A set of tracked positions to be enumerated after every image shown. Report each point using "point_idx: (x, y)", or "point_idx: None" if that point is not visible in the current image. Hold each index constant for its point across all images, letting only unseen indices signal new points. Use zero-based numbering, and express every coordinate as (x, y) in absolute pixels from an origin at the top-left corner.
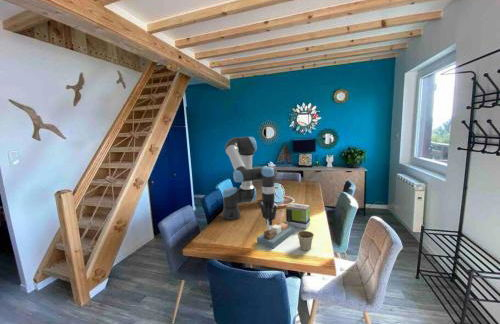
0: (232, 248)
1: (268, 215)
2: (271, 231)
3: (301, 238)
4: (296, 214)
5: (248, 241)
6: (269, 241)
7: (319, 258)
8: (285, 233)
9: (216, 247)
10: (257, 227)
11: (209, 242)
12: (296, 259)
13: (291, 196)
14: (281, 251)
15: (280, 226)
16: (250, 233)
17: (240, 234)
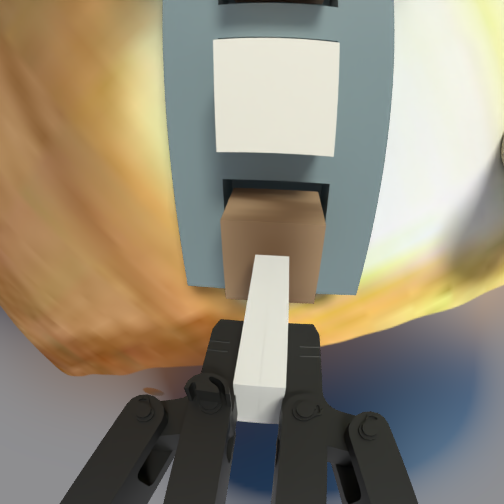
0: (147, 344)
1: (224, 462)
2: (303, 263)
3: None
4: None
5: (140, 261)
6: (321, 293)
7: None
8: (390, 75)
9: (101, 355)
10: (35, 59)
11: (54, 336)
12: (488, 282)
13: None
14: (408, 259)
15: (335, 61)
16: (63, 166)
17: (43, 218)
